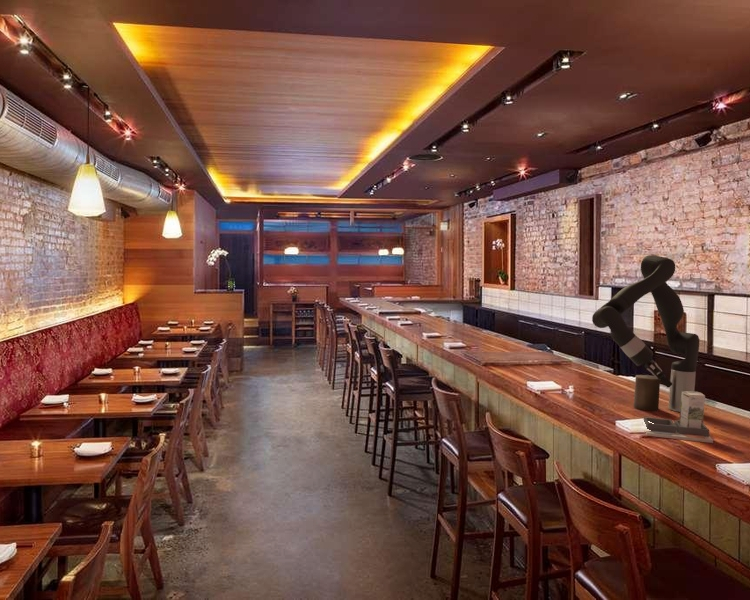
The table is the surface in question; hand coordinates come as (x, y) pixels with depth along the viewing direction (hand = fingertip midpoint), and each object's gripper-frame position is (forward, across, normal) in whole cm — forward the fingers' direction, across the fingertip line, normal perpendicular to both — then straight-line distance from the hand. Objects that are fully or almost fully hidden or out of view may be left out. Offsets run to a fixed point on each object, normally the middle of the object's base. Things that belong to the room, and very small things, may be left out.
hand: (668, 383), depth 215 cm
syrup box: (+18, 0, +6) cm, 19 cm away
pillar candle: (+12, +36, +14) cm, 40 cm away
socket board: (+15, -1, +10) cm, 18 cm away
